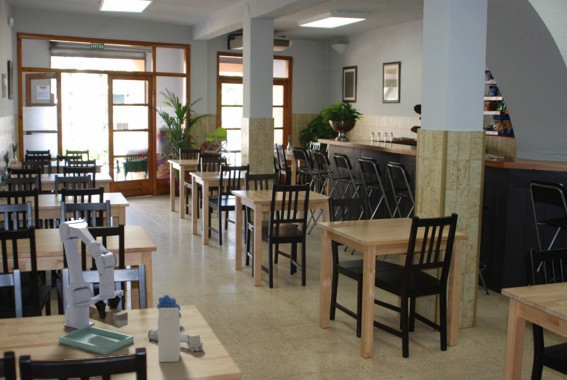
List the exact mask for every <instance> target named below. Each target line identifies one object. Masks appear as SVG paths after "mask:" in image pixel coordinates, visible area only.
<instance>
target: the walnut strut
mask: <svg viewBox="0 0 567 380" xmlns="http://www.w3.org/2000/svg"><path fill="white" fill-rule="evenodd" d="M128 313H129V312H128V311H125V310H121V309H118V308H117V309H115V308H112V307H110V305H109V306H108V305H106V309H105V319H100V316H99V313H98V310H97V308H96V306H95V305H94V304H89V319H90V320H94V321H97V322H99V323H103V324H105V325H108V326H111V327H114V328H116V329H120V328H123V327H126V326H128V324H129V319H128V318H129V317H128V315H129V314H128Z"/></svg>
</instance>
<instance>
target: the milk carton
mask: <svg viewBox="0 0 567 380" xmlns="http://www.w3.org/2000/svg"><path fill="white" fill-rule="evenodd" d="M179 312H180V311H179V308H159V309H158V320H157V329H158V341H157V342H158V344H157V345H158V347H157V348H158V362H159V363H167V362H168V363H170V362H171V363H174V362H175V363H176V362H179V360H180V356H181V342H180V333H181V327H180V324H181V323H180V322H181V321H180V319H181V317H180V315H179Z"/></svg>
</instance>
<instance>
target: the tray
mask: <svg viewBox="0 0 567 380" xmlns="http://www.w3.org/2000/svg"><path fill="white" fill-rule="evenodd" d="M58 341H59V342H58V343H59V344H60V345H65V346H69V347H73V348H76V349H79V350H85V351H89V352H92V353H95V354H99V355H103V356H107V355H109V354H111V353H113V352H116V351H119V350H120V349H122V348H125V347H126V346H128V345H131V344H133V343H134V341H135V340H134V335H129V334H127V333H122V332H118V331H113V330H110V329H104V328H100V327H97V326H93V325H90V326H89V325H88V326H85V327H83V328H80V329H76V330H73V331H71V332H68V333H66V334H63V335H60V336H59V337H58Z"/></svg>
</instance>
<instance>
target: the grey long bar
mask: <svg viewBox="0 0 567 380" xmlns="http://www.w3.org/2000/svg"><path fill="white" fill-rule="evenodd" d="M147 337H148V339H149V340H151V341H156V342H158V328H157V329H150V330H148V333H147ZM180 343H186V346H188V351H190V352H192V353H193V352H201V351H203V349H204V348H203V347H204V346H203V344H204V341H202V340H201V337H200V334H199V333H191V334H187V333H181V332H180Z"/></svg>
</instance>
